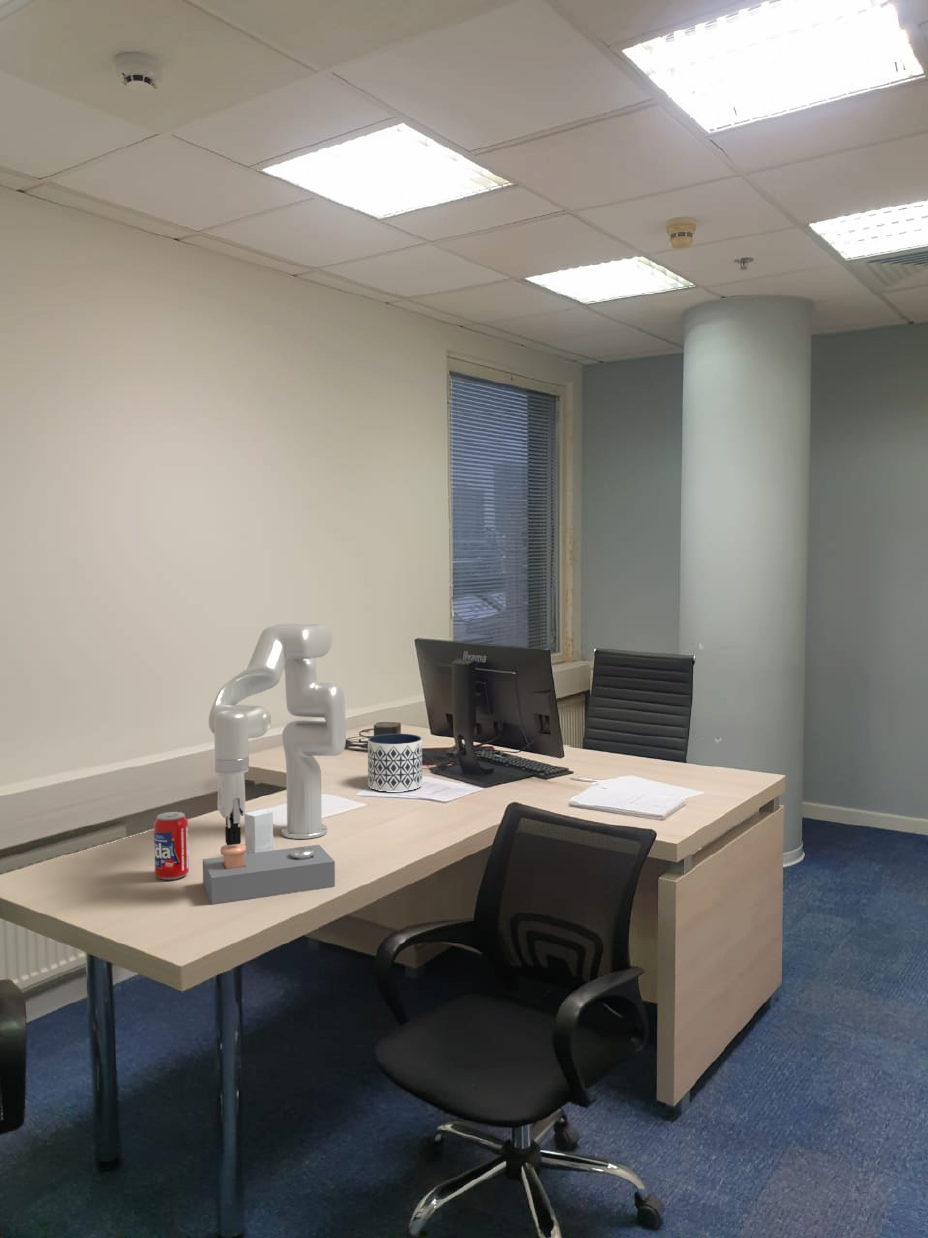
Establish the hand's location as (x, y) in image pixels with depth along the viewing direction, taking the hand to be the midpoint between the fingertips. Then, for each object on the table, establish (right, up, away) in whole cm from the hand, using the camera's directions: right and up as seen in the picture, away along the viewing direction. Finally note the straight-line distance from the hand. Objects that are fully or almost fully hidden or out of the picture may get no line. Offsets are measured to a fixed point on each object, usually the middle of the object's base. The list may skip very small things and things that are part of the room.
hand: (233, 843), depth 214 cm
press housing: (+7, -11, +4) cm, 14 cm away
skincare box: (+1, -10, +24) cm, 26 cm away
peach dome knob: (0, -7, 0) cm, 7 cm away
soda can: (-17, -11, +11) cm, 23 cm away
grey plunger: (+15, -10, +7) cm, 19 cm away
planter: (+30, -5, +99) cm, 104 cm away
